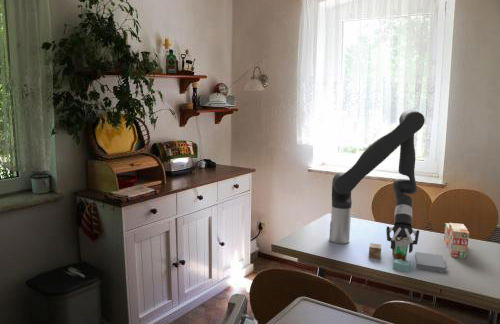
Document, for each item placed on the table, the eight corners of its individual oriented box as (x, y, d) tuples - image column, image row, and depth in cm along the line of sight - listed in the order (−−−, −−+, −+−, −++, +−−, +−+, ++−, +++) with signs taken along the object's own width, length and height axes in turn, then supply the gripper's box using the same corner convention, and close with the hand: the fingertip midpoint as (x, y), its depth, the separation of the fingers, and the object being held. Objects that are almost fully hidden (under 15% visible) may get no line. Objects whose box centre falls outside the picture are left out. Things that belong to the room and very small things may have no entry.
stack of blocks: (443, 240, 205) (445, 216, 203) (457, 242, 203) (460, 218, 201) (450, 257, 185) (453, 230, 182) (466, 258, 183) (469, 232, 181)
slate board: (416, 268, 172) (417, 263, 171) (414, 255, 185) (415, 251, 184) (445, 272, 168) (446, 267, 168) (441, 259, 181) (442, 255, 181)
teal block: (392, 269, 171) (393, 262, 170) (395, 265, 174) (395, 259, 174) (408, 272, 168) (408, 265, 167) (410, 269, 171) (410, 262, 171)
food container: (410, 265, 174) (413, 242, 173) (395, 263, 175) (397, 241, 174) (406, 254, 186) (408, 233, 184) (391, 252, 187) (393, 231, 186)
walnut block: (368, 257, 182) (369, 246, 181) (369, 253, 186) (369, 243, 186) (380, 259, 180) (381, 248, 179) (380, 255, 185) (381, 244, 184)
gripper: (386, 211, 187) (384, 244, 178) (421, 214, 182) (420, 249, 173) (386, 219, 193) (383, 252, 184) (419, 222, 188) (418, 257, 179)
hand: (401, 250), depth 179 cm, fingers closed on food container, 6 cm apart
